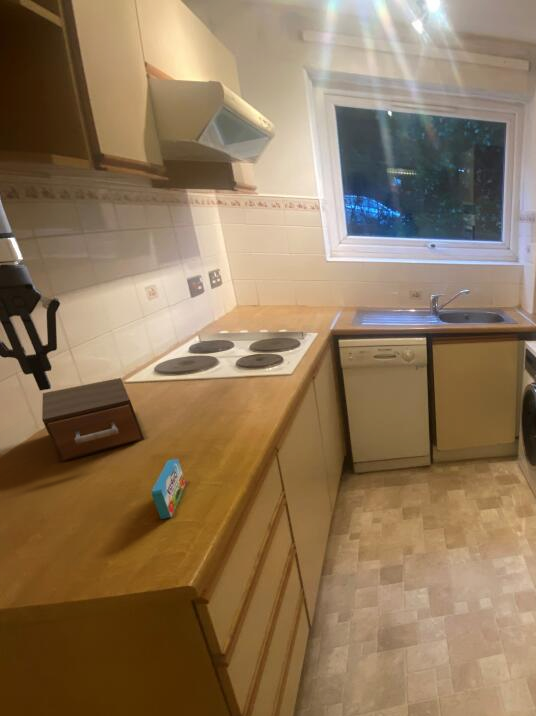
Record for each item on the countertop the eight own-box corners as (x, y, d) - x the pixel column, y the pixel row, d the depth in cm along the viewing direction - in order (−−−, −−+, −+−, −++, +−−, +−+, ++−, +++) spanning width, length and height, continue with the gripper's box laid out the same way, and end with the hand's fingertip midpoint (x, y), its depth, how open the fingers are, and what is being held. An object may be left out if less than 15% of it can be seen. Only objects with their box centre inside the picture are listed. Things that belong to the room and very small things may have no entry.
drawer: (144, 447, 101) (131, 413, 98) (64, 470, 93) (47, 433, 89) (131, 414, 117) (120, 384, 114) (61, 430, 108) (47, 398, 105)
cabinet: (144, 439, 107) (130, 399, 103) (61, 462, 97) (42, 419, 93) (133, 413, 120) (120, 377, 116) (59, 431, 110) (42, 393, 106)
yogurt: (171, 518, 80) (161, 490, 78) (161, 520, 80) (150, 492, 77) (185, 483, 90) (177, 457, 88) (177, 484, 90) (168, 459, 87)
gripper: (-70, 268, 69) (-7, 402, 78) (46, 263, 78) (91, 384, 86) (-62, 263, 74) (-3, 390, 83) (46, 259, 82) (89, 374, 91)
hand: (45, 387), depth 85 cm, fingers closed
